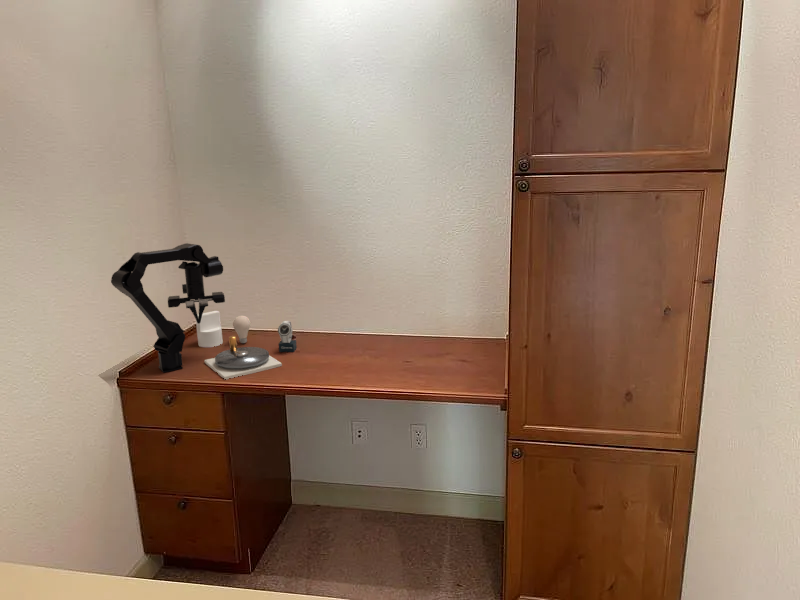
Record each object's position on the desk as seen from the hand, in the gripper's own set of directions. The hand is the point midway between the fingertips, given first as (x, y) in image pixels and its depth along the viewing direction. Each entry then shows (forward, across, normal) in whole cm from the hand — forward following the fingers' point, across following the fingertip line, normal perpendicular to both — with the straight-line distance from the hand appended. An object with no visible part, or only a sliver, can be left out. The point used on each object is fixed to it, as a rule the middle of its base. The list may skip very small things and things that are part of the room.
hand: (198, 323), depth 213 cm
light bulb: (+13, -16, -11) cm, 23 cm away
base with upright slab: (+13, -4, -16) cm, 21 cm away
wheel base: (+13, -13, +13) cm, 22 cm away
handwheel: (+11, -13, +13) cm, 21 cm away
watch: (+13, -30, +4) cm, 33 cm away
